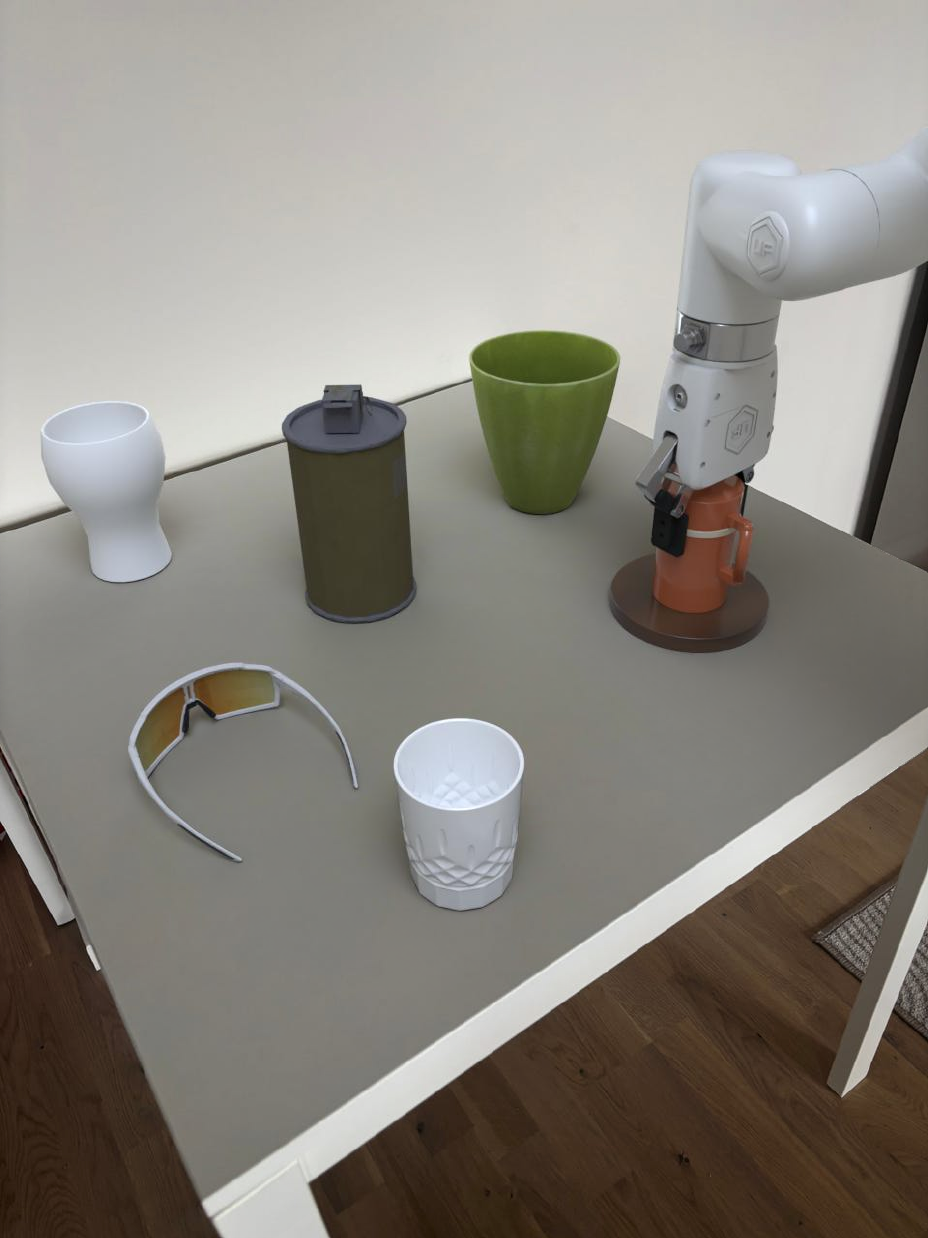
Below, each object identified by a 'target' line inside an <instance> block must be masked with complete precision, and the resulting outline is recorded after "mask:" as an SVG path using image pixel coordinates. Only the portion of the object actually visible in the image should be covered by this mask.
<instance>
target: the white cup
mask: <svg viewBox="0 0 928 1238" xmlns="http://www.w3.org/2000/svg"><path fill="white" fill-rule="evenodd" d="M524 770H525V758H524V753H523V751H522V748H521V746H520V745H519V743H518V742H517V740H516V739H515V738H514V737H513V736H512V735H511V734H510V733H509V732H507V731H506V730H504V729H503V728H501V727H499V726H497V725H495V724H493V723H491V722H488V721H485V720H481V719H477V718H476V719H475V718H467V717H456V718H446V719H441V720H436V721H433V722H430V723H428V724H425V725H423V726H421V727H419V728H417V729H416V730H414V731H413V732H411V733H410V734H409V735H408V736H407V737H406V738H404V740H403V741H401V743H400V745H399V746H398V748H397V750H396V752H395V755H394V759H393V773H394V779H395V788H396V793H397V800H398V807H399V814H400V820H401V821H400V822H401V826H402V831H403V837H404V844H405V848H406V852H407V856H408V860H409V867H410V875H411V878H412V880H413V882H414V884H415V886H416V888H417V890H418V892H419V894H420V895H422V897H424V898H425V899H426V900H428V901H429V902H430V903H432V904H433V905H435V906H436V907H440V908H445V909H449V910H452V911H453V910H454V911H457V912H458V911H459V912H461V911H468V910H469V911H470V910H475V909H481V908H484V907H486V906H487V905H489V904H490V903H492V902H493V901H495V900H497V899H498V898H501V896H503V894H504V892H506V890H507V887H508V886H509V885H510V883H511V882H512V879H513V874H514V873H513V872H514V858H515V851H516V847H517V844H518V836H519V828H520V827H519V825H520V819H521V811H522V810H521V806H522V794H523V784H524Z"/></svg>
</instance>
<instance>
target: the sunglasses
mask: <svg viewBox="0 0 928 1238" xmlns="http://www.w3.org/2000/svg"><path fill="white" fill-rule="evenodd" d="M281 687H282V688H284V689H285V690H287V691H288V692H290V693H291V694H293V695H295V696H297V697H300V698H302V699H304V700H306V701H307V702H308V703H310V704H311V705H312V706H313V707H315V709H316V710H317V711H318V712H319V713H320V714H321V716H323V718H324V719H325V720H326V722H327V723H328V725H329V726H330V728H332V730H333V731H334V732H335V734H336V736H337V737H338V740H339V741H340V743H341V746H342V749H343V751H344V754H345V756H346V757H345V758H346V760H347V763H348V767H349V771H350V776H351V781H352V785H353V788H354V789H357V788H358V787H359V786H358V780H357V774H356V770H355V765H354V762H353V757H352V754H351V750H350V747H349V744H348V743H347V740H346V738H345V736H344V734H343V732H342V730H341V728H340V727H339V725H338V723H336V721H335V720H334V718H333V717H332V716H331V715H330V713H329V712H328V711H327V710H326V709H325V708H324V706H323V705H322V704H321V703H320V702H319V701H318V700H317V699H316V698H315V697H314V696H313V695H311V693H310V692H309V691H308V690H307V689H305V688H304V687H302V686H301V685H300V684H298V683H297V682H296V681H294V680H292V679H291V678H289V677H288V676H287V675H285V674H283V673H282V672H280V671H279V670H277V669H274V668H272V667H271V666H269V665H263V664H251V663H243V662H229V663H221V664H216V665H212V666H207V667H205V668H202V669H199V670H197V671H193V672H191V673H189V674H187V675H185V676H183V677H180V678H179V679H177V680H175V681H174V682H172V683H171V684H169V685H168V686H166V687H165V688H164V689H162V690H161V691H160V692H159V693H158V694H156V695H155V696H154V697H153V699H152V700H151V701H150V702H149V703H148V704H146V706H145V707H144V709H143V710H142V712H140V715H139V718H138V719H137V721H136V722H135V724H134V727H133V728H132V731H131V734H130V736H129V741H128V747H127V754H128V758H129V761H130V763H131V766H132V768H133V770H134V773H135V776H136V778H137V780H138V781H139V783H140V784H141V786H142V787H143V788H144V790H145V791H146V792H147V794H148V795H149V796H150V798H151V799H152V800H153V801H154V802H155V803H156V804H157V805H158V806H159V808H160V809H161V810H162V811H163V812H164V814H165V815H166V816H167V817H168V818H169V819H170V820H172V822H174V823H175V824H177V826H178V827H179V828H180V829H182V830H184V831H185V832H186V833H187V834H189V835H190V836H192V837H193V838H194V839H196V840H197V841H199V842H200V843H202V844H204V845H205V846H206V847H208V848H210V849H211V850H213V851H214V852H217V853H218V854H220V855H222V856H223V857H225V858H227V859H229V860H231V861H233V862H242V861H243V858H241V857H240V856H238V855H237V854H235V853H233V852H232V851H230V850H228V849H227V848H224V847H223V846H221V845H220V844H218V843H216V842H215V841H213V840H212V839H211V838H210V839H209V838H208V837H207V836H205V835H203V833H200V832H199V831H197V829H195V828H193V827H192V826H191V825H189V824H188V823H187V822H185V821H184V820H183V819H182V818H180V817H179V816H178V815H177V814H176V813H175V812H174V811H173V810H171V809H170V808H169V807H168V806H167V805H166V803H164V801H163V800H162V799H161V798H160V797H159V796H158V794H157V793H156V791H155V789H154V787H153V785H152V783H151V782H150V781H149V779H148V777H149V776H150V775H151V773H152V772H153V771H154V770H155V768H156V767H157V766H158V764H159V763H160V762H161V761H162V760H163V758H165V756H167V755H168V753H169V752H170V751H171V750H172V749H173V748H174V747H175V746H177V744H178V743H180V742H181V741H182V740H183V738H184V735H185V734H187V733H188V732H189V728H190V710H191V709H193V708H195V707H197V706H199V707H200V708H201V709H202V710H203V711H204V713H205V714H206V715H207V716H208V717H209V718H210V719H215V720H224V719H226V718H229V717H233V716H237V715H243V714H247V713H252V712H257V711H262V710H267V709H273V708H277V707H278V706H280V703H281V701H280V700H281Z"/></svg>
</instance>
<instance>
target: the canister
mask: <svg viewBox="0 0 928 1238" xmlns="http://www.w3.org/2000/svg"><path fill="white" fill-rule="evenodd" d="M407 421H408V420H407V416H406V413H405V412H404V410H402V408H400V407H399V406H397V404H395V403H393V402H391V401H387V400H383V399H379V398H375V397H371V396H367V395H364V392H363V386H362V384H325V385H324V389H323V395H322V398H321V399H317V400H314V401H312V402H309V403H306V404H303V405H300V406H299V407H297V408H295V409H294V410H292V411H291V412H289V413H288V414H287V415H286V417H285V418H284V420H283V421H282V423H281V432H282V436H283V437H284V438H285V440H286V447H287V454H288V460H289V461H288V462H289V467H290V468H289V469H290V476H291V482H292V483H291V484H292V491H293V497H294V505H295V513H296V520H297V529H298V535H299V542H300V543H299V544H300V551H301V557H302V564H303V565H302V566H303V573H304V579H305V590H304V597H305V601H306V603H307V605H308V607H310V609H311V610H313V611H314V613H315V614H316V615H319V616H321V617H324V618H325V619H328V620H330V621H332V622H333V621H334V622H338V623H346V624H367V623H372V622H377V621H381V620H385V619H387V618H390V617H392V616H394V615H395V614H397V613H399V612H401V611H402V610H404V609H405V608H406V607H408V606H409V604H410V603H412V601H413V600H414V598H415V595H416V592H417V582H416V578H415V577H414V571H413V570H414V569H413V556H412V555H413V553H412V538H411V537H412V536H411V522H410V506H409V505H410V504H409V489H408V473H407V472H408V470H407V456H406V455H407V454H406V439H405V429H406V426H407V423H408V422H407Z"/></svg>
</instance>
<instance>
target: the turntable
mask: <svg viewBox="0 0 928 1238" xmlns="http://www.w3.org/2000/svg"><path fill="white" fill-rule="evenodd" d="M655 557H656V553H651V554H648V555H647V554H646V555H644V556H640V557H638V558H635V559H634V560H632V561H630V562H628V563H626V564H625V565H623V566H622V567H621V568H620V569H619V570H618V571H617V572H616V574H615V575H614V576H613V579H612V580H611V584H610V590H609V591H610V592H609V607H610V611H611V612H612V613H611V614H612V615H613V617H614V618H615V619H616V621H617V622H618V624H619V625H620V626H622V628H624V630H626V631H627V632H628V633H630V634H632V635H633V636H634V637H636V638H637V639H640V640H642V641H644V642H646V643H649V644H651V645H653V646H656V647H660V648H663V649H668V650H672V651H676V652H685V653H701V654H702V653H715V652H723V651H727V650H732V649H734V648H737V647H740V646H741V645H744V644H746V643H748V642H750V641H751V640H753V639H754V638H755V637H756V636H758V635H759V634H760V632H761V631H762V630H763V628H764V626H765V624H766V621H767V616H768V613H769V607H770V599H769V595H768V592H767V590H766V588H765V586H764V584H762V582H761V580H759V578H757V577H756V576H755V575H754V574H753V573H751V572H750V571H749V570H747V569H746V574H745V580H744V583H743V584H741V585H736V586H732V585H731V584H729V585H728V591H727V597H726V600H725V602H724V603H723V604H722V605H721V606H720V607H718V608H717V609H715V610H712V611H709V612H703V613H686V612H680V611H676V610H673V609H670V608H668V607H666V606H664V605H663V604H661V603H660V602H659V601H658V600H657V599H656V598H655V597H654V595H653V592H652V584H653V575H654V566H655ZM734 565H735V562H732V567H731V568H732V569H734Z"/></svg>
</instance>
